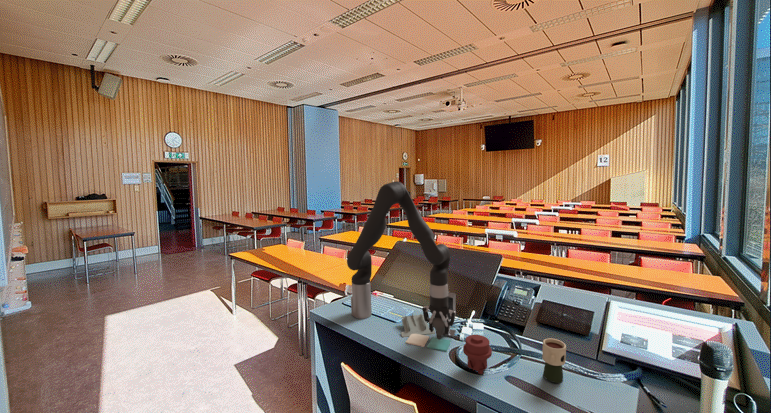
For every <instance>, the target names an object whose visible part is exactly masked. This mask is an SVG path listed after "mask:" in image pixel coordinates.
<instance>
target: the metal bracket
mask: <svg viewBox="0 0 771 413" xmlns="http://www.w3.org/2000/svg"><path fill="white" fill-rule="evenodd" d="M411 314H412V315H404V316H400V318H401V321H402V325H403V329H404V331H401V332H400V335H401V337H402V338H409V337H410V335H411V334H420V335H425V336H430V335H436V331H435V329H434V330H433V332H431V330H429V323H428V322H426V321H425V320H424V315H423V313H420V314H416V315H415V314H414V313H411Z"/></svg>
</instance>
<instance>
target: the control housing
mask: <svg viewBox="0 0 771 413" xmlns="http://www.w3.org/2000/svg"><path fill="white" fill-rule="evenodd" d="M456 295H457V294H456V292H449V294H448V307H449V309H450V310H452V311H454V310H456V311H457V309H456V308H457V307H456V306H457V305H456V301H457V300H456V299H457V298H456ZM447 316H448V320H449V321H450V320H451V316H450V313H448V314H447ZM455 334H456V330H455V329H451V326H449V333H448V334H447V335H445V328H444V330H443V334H442V337H443V336H444V337H449V338H454V336H455Z"/></svg>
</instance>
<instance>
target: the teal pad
mask: <svg viewBox="0 0 771 413" xmlns="http://www.w3.org/2000/svg"><path fill="white" fill-rule="evenodd" d="M451 343H452V340H451V339H447V338H446V339H445V338H442V339H440V340H439V339H437V337H435V336H433V337H431V339H430V341H429V343H428V345H427V349H432V350H436V351H441V352H448V350H449V348H450V346H451Z"/></svg>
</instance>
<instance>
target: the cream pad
mask: <svg viewBox="0 0 771 413" xmlns="http://www.w3.org/2000/svg"><path fill="white" fill-rule="evenodd" d="M429 339H430V335H420V334H411V335H410V337H407V340H405V344H409V345H412V346H413V345H414V346H416V347H417V346H418V347H422V348H423V347H424V348H425V346H426V344H427V342H428V340H429Z"/></svg>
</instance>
